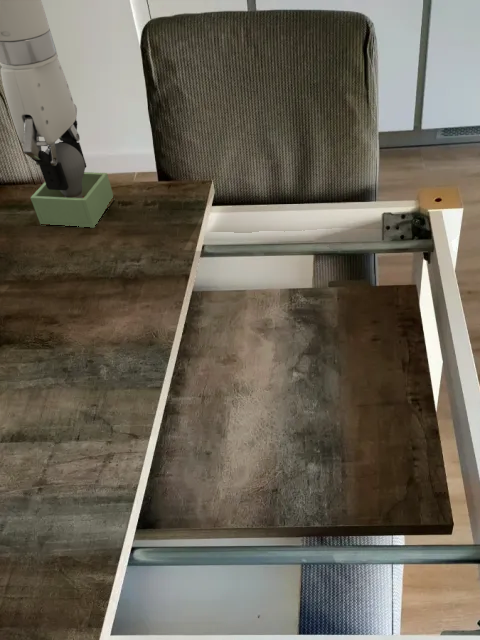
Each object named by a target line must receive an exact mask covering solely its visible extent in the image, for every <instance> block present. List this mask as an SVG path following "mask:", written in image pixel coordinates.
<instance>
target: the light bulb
mask: <svg viewBox="0 0 480 640" xmlns="http://www.w3.org/2000/svg"><path fill="white" fill-rule="evenodd" d="M55 148H56V155H57V163H61V165H62V168H63V171H64V174H65V177H66V180H67V183H68V186H69V188H68V189H67V190H60V191H61V193H62V194H63V195H64V196H65V197H67V198H83V197H82V196H83V195H82V179H83V176H84V172H86V171H85V170H86V168H85V163H86V162H85V163H84V159H85V158H84V159H83V157H82V155H81V154H80V152H79V151H78V150H77V149H76V148H74V147H73V146H71V145H69V144H66V143H59V142H55ZM44 152H46V153H47V154H48V155H49V153H48V147H47V148H46V149H45V151H44Z"/></svg>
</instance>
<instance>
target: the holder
mask: <svg viewBox="0 0 480 640" xmlns="http://www.w3.org/2000/svg"><path fill="white" fill-rule="evenodd" d="M82 195H83V196H82V197H83V198H67V197H65V196H64V195H63V194H62V193H61V191H60V190H49V189H48V188H47V186H46V183H45V181H44V182H43V183H42V184H41V185H40V187H39V188H38V189H37V190H36V191H35V192H34V193H33V194H32V195H31V196H30V200H31V204H32V206H33V209H34V211H35V214H36V216H37V220H38V221H39V224H40V225H41V224H50V225H65V226H69V225H70V226H77V227H76V228H84V227H90V228H89V229H95V228H96V226H97V225H98V224H99V222H100V221H99V219H100V218H101V216H102V214H103V213H104V211H105V209H106V208H107V205H108V204H109V202H110V201H111V199H112V198H113V196H114V193H113V189H112V185H111V182H110V178H109V175H108V173H107V172H94V171H93V172H92V171H91V172H90V171H84V176H83V179H82ZM101 219H102V218H101ZM101 219H100V220H101ZM98 221H99V222H98ZM96 224H97V225H96ZM95 225H96V226H95ZM65 226H64V227H65ZM78 226H79V227H78Z"/></svg>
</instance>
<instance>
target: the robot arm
mask: <svg viewBox="0 0 480 640" xmlns="http://www.w3.org/2000/svg"><path fill="white" fill-rule="evenodd" d="M58 57H59V56H58V52H57V48H56V44H55V42H54V38H53V36H52V32H51V28H50V25H49V21H48V18H47V15H46V12H45V8H44V5H43V2H42V0H0V67H1V68H0V77H1V82H2V88H3V92H4V95H5V99H6V103H7V106H8V111H9V114H10V116H11V120H12V123H13V126H14V129H15V132H16V134H17V138H18V140H19V142H20V143H21V144H22V151H23V153H24V154H25V155H26V156H27V157H30V159H31V160H33V161H34V162H35V165H36V166H39V169H40V171H41V175H42V178H43V180H44V182H45V183H46V186H47V188H48V189H49V190H67V189H68V188H69V186H68V183H67V180H66V177H65V174H64V171H63V168H62V165H61V163H57V155H56V148H55V143H57V141H58V140H59V142H58V143H66V144H69V145H71V146H73V147H74V148H76V149H77V150H78V151H79V152H80V154H81V155H82V157H83V159H84V163H85V169H86V168H87V163H86V159H85V156H84V153H83V150H82V146H81V143H80V140H81V139H80V134H79V132H78V121H77V116H78V115H77V114H78V107H77V105H76V104H75V103H74V99H73V96H72V93H71V90H70V86H69V84H68V81H67V77H66V75H65V73H64V70H63V67H62V64H61V63H60V60H59V58H58ZM39 137H40V138H43V139H44V140H40V138H39ZM42 147H47V148H48V153H49V155H48V154H47V153H46V152H45V151H44V150H42Z"/></svg>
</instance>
